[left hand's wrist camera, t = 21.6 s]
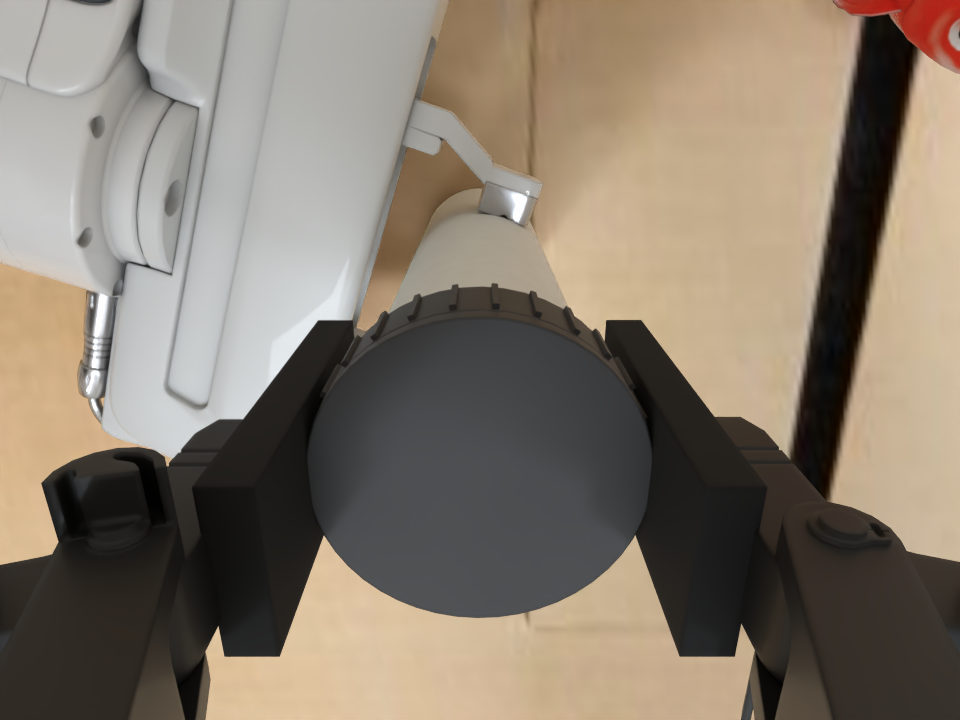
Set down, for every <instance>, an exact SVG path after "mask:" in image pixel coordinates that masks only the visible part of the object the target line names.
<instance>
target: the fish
mask: <svg viewBox="0 0 960 720" xmlns="http://www.w3.org/2000/svg"><path fill="white" fill-rule="evenodd" d="M833 2H834V3H835V4H836V5H837V7H838V8H841V9H844V10H845V11H847V12H848V13H849V14H851V15H853V16H869V17H871V16H878V15H885V14H889V15H890V17H891V19H892V20H893V21H894V22H895V24H896V25H897V26H898V28H899V29H900V30H901V31H902V32H903V33H904V35H905V36H906V38H907V39H908V40H909V41H910V42H911V43H913V44H914V45H915V46H916V47H918V48H919V49H920V50H921V51H923V52H924V53H925V54H926V55H927V56H928V57H930V58H931V59H933V60H934V61H935V62H937V63H938V64H940V65H941V66H943V67H945V68H947V69H949V70H951V71H953V72H955V73H958V74H960V0H833Z"/></svg>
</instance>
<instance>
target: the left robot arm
mask: <svg viewBox="0 0 960 720" xmlns="http://www.w3.org/2000/svg"><path fill="white" fill-rule="evenodd" d="M353 340H354V327H353V320H318V321H317V322H316V324H315V325H314V326H313V328H312V329H311V330H310V332H309V333H308V334H307V336H306V337H305V338H304V340H303V341H302V342H301V344H300V345H299V346H298V348H297V349H296V350H295V351H294V353H293V354H292V355H291V357H290V358H289V359H288V361H287V362H286V363H285V365H284V366H283V367H282V369H281V370H280V371H279V373H278V374H277V375H276V377H275V378H274V379H273V380H272V382H271V383H270V384H269V386H268V387H267V388H266V390H265V391H264V392H263V394H262V395H261V396H260V398H259V399H258V400H257V402H256V403H255V404H254V406H253V407H252V408H251V410H250V411H249V412H248V413H247V415H246V416H245V417H244V419H219V420H217V421H215V422H213V423H212V424H210V425H208V426H207V427H205V428H203V429H201V430H200V431H198V432H196V433H195V434H194V435H193V436H192V437H191V438H190V440H189V441H188V442H187V443H186V444H185V445H184V447H183V448H182V449H181V453H177V455H176V456H175V457H174V458H173V459H172V460H171V461H170V463H169V467H167V466H166V461H165V457H164V456H162V455H161V454H160V453H158V452H157V451H155V450H151V449H146V448H140V447H132V448H116V449H111V450H106V451H101V452H96V453H93V454H90V455H87V456H84V457H81V458H79V459H76V460H73V461H71V462H69V463H67V464H66V465H64V466H62V467H60V468H58V469H57V470H55V471H53V472H52V473H51V474H50V475H49V476H48V477H47V478H46V479H45V480H44V481H43V482H42V483H41V484H42V487H43V491H44V494H45V497H46V501H47V504H48V507H49V511H50V514H51V518H52V521H53V524H54V528H55V531H56V534H57V538H58V541H59V543H58V544H57V546H56V548H55V550H54V552H53V554H52V555H48V556H44V557H39V558H34V559H29V560H24V561H19V562H13V563H8V564H3V565H0V720H205V718H206V711H207V703H208V695H209V687H210V673H209V667H208V662H207V657H206V652H205V651H206V649H207V647H208V645H209V643H210V641H211V639H212V637H213V635H214V633H215V631H216V629H217V627H218V625H219V630H220V635H221V640H222V646H223V651H224V656H225V657H280V654H281V651H282V649H283V646H284V643H285V640H286V638H287V635H288V632H289V629H290V627H291V624H292V621H293V618H294V616H295V613H296V610H297V607H298V605H299V602H300V599H301V596H302V594H303V591H304V588H305V585H306V583H307V580H308V577H309V574H310V572H311V569H312V566H313V563H314V561H315V558H316V555H317V552H318V550H319V547H320V544H321V541H322V539H323V536H324V534H323V532H322V530H321V528H320V526H319V524H318V522H317V520H316V518H315V515H314V512H313V506H312V498H311V489H310V481H309V472H308V463H307V443H308V438H309V435H310V431H311V428H312V424H313V421H314V418H315V416H316V414H317V412H318V410H319V408H320V405H321V403H322V401H323V399H324V398H322V397H320V394H321V392H322V390H323V389H324V387H325V385H326V383H327V381H328V380H329V378H330V376H331V374H332V372H333V371H334V369H335V367H336V365H337V364H339V365H341V362H342V360H343V358H344V356H345V354H346V353H347V351H348V349H349V347H350V345H351V343H352V342H353ZM605 344H606V345H607V347H608V349H609V351H610V353H611V355H612V357H613V358H616V357H619V359H620V361H621V363H622V364H623V366H624V368H625V370H626V372H627V373H628V375H629V377H630V379H631V381H632V382H633V384H634V386H635V389H633V391H634V393H635V395H636V397H637V399H638V401H639V402H640V404H641V406H642V408H643V410H644V412H645V413H646V415H647V417H648V423H647V426H648V429H649V433H650V437H651V441H652V447H653V455H652V466H651V475H650V483H649V492H648V501H647V508H646V513H645V515H644V518H643V521H642V523H641V525H640V527H639V529H638V530H637V532H636V534H635V535H636V538H637V540H638V543H639V546H640V549H641V551H642V554H643V557H644V560H645V562H646V565H647V568H648V571H649V573H650V576H651V579H652V582H653V584H654V587H655V590H656V593H657V595H658V598H659V601H660V604H661V606H662V609H663V612H664V615H665V617H666V620H667V623H668V626H669V628H670V631H671V634H672V637H673V639H674V642H675V645H676V648H677V650H678V653H679V656H680V657H735V652H736V647H737V642H738V637H739V632H740V627H741V623H742V625H743V627H744V629H745V631H746V633H747V635H748V637H749V639H750V641H751V643H752V645H753V647H754V649H755V652H754V657H753V662H752V667H751V671H750V676H749V681H748V686H747V690H746V695H745V700H744V705H743V710H742V717H741V720H751V715H752V711H753V709H754V717H755V720H960V562H956V561H951V560H946V559H941V558H936V557H931V556H925V555H920V554H916V553H912V552H908V551H906V549H905V547H904V545H903V543H902V541H901V540H900V539H899V538H898V537H897V535H896V534H895V533H894V532H893V531H892V529H891V528H889V527H888V526H886V525H885V524H883V523H882V522H880V521H879V520H877V519H876V518H874V517H873V516H871V515H868V514H866V513H864V512H861V511H859V510H856V509H854V508H852V507H848V506H844V505H839V504H835V503H831V502H827V501H826V500H825V499H824V498H823V497H822V496H821V495H820V493H819V492H818V491H817V490H816V489H815V488H814V487H813V485H812V484H811V483H810V482H809V481H808V480H807V479H806V478H805V476H804V475H803V474H802V473H801V472H800V471H799V470H798V468H797V467H796V466H795V465H794V464H791V460H790V459H789V458H788V457H787V456H786V455H785V454H784V453H783V451H782V450H779V447H778V446H777V445H776V443H775V442H774V441H773V440H772V439H771V438H770V437H769V435H768V434H767V433H766V432H765V431H764V430H762V429H760V428H759V427H757V426H755V425H753V424H752V423H750V422H748V421H747V420H745V419H743V418H741V417H714V416H713V414H712V413H711V412H710V410H709V409H708V408H707V406H706V405H705V404H704V403H703V401H702V400H701V399H700V397H699V396H698V395H697V393H696V392H695V391H694V389H693V388H692V387H691V385H690V384H689V383H688V381H687V380H686V379H685V377H684V376H683V375H682V373H681V372H680V371H679V370H678V368H677V367H676V366H675V364H674V363H673V362H672V360H671V359H670V358H669V356H668V355H667V354H666V352H665V351H664V350H663V348H662V347H661V346H660V344H659V343H658V342H657V340H656V339H655V338H654V337H653V335H652V334H651V333H650V331H649V330H648V329H647V327H646V326H645V325H644V323H643V322H642V321H641V320H606V332H605ZM341 366H342V365H341Z"/></svg>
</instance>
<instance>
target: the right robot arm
mask: <svg viewBox="0 0 960 720" xmlns="http://www.w3.org/2000/svg"><path fill="white" fill-rule="evenodd" d="M448 3H449V0H0V263H1V264H4V265H7V266H11V267H14V268H17V269H21V270H24V271H27V272H30V273H34V274H37V275H40V276H44V277H47V278H51V279H54V280H57V281H60V282H64V283H67V284H70V285H73V286H76V287H80V288H83V289H86V290H87V296H86V306H85V314H84V352H83V359H82V360H81V361H80V364H79V368H78V375H77V382H78V390H79V393H80V395H82V396H83V397H85V398H88V401H89V405H90V408H91V410H92V412H93V414H94V416H95V417H96V419H97V420H98V421H99V422H100V423H101V426H102V429H103V430H104V431H105V432H106V433H108V434H109V435H111V436H113V437H115V438H118V439H120V440H123V441H127V442H131V443H134V444H138V445H141V446H145V447H148V448H151V449H153V450H155V451H157V452H159V453H161V454H163V455H165V456H168V457H170V458H172V459H173V458H174V457H175V456H176V455H177V453H181V449H182V448H183V447H184V445H185V444H186V443H187V442H188V441H189V440H190V438H191V437H192V436H193V435H194V434H195V433H196V432H198V431H200V430H201V429H203V428H205V427H207V426H208V425H210V424H212V423H213V422H215V421H217V420H219V419H244V417H245V416H246V415H247V413H248V412H249V411H250V410H251V408H252V407H253V406H254V404H255V403H256V402H257V400H258V399H259V398H260V396H261V395H262V394H263V392H264V391H265V390H266V388H267V387H268V386H269V384H270V383H271V382H272V380H273V379H274V378H275V377H276V375H277V374H278V373H279V371H280V370H281V369H282V367H283V366H284V365H285V363H286V362H287V361H288V359H289V358H290V357H291V355H292V354H293V353H294V351H295V350H296V349H297V348H298V346H299V345H300V344H301V342H302V341H303V340H304V338H305V337H306V336H307V334H308V333H309V332H310V330H311V329H312V328H313V326H314V325H315V324H316V322H317V321H318V320H353V327H354V338H355V337H356V336H357V335H359V336H360V337H362V336H363V335H364V334H365V333H366V331H363V330H360V329H357V324H358V321H359V317H360V314H361V310H362V307H363V303H364V300H365V296H366V293H367V289H368V285H369V282H370V278H371V275H372V271H373V268H374V264H375V261H376V257H377V254H378V250H379V247H380V243H381V240H382V236H383V233H384V229H385V225H386V222H387V218H388V215H389V211H390V208H391V204H392V201H393V197H394V194H395V190H396V187H397V183H398V180H399V176H400V172H401V169H402V165H403V162H404V158H405V155H406V151H407V148H408V147H410V148H413V149H415V150H418V151H421V152H424V153H427V154H430V155H433V156H434V155H435V154H437V153H438V152H439V151H440V150H441V149H442V146H443V143H444V140H445V141H446V142H447V143H448V144H449V145H450V146H451V147H452V149H453V150H454V151H455V152H456V153H457V154H458V155H459V157H460V158H461V159H462V160H463V161H464V162H465V164H466V165H467V166H468V167H469V168H470V169H471V170H472V172H473V173H474V174H475V175H476V176H477V177H478V179H479V180H480V181H481V182H482V183H483V184H484V185H483V189H482V192H481V195H480V198H479V201H478V210H479V211H482V212H485V213H488V214H490V215H495V216H501V215H506V216H507V218H508V219H509V220H510V221H512V222H514V223H516V224H520V225H523V226H528V223H529V221H530V218H531V216H532V213H533V211H534V208H535V205H536V203H537V200H538V197H539V194H540V192H541V189H542V186H543V183H542V181H541V180H539V179H537V178H534V177H532V176H530V175H527V174H524V173H521V172H519V171H516V170H513V169H510V168H507V167H505V166H502V165H499V164H496V163H493V160H492V157H491V156H490V155H489V154H488V153H487V151H486V150H485V149H484V148H483V147H482V145H481V144H480V143H479V142H478V141H477V139H476V138H475V137H474V136H473V135H472V133H471V132H470V131H469V130H468V129H467V127H466V126H465V125H464V124H463V123H462V122H461V120H460V119H459V118H458V117H457V116H456V114H455V113H454V112H452V111H449V110H447V109H444V108H441V107H438V106H436V105H433V104H430V103H427V102H425V101H422V100H421V98H422V95H423V91H424V88H425V84H426V81H427V77H428V74H429V70H430V67H431V63H432V59H433V56H434V52H435V49H436V45H437V42H438V38H439V35H440V31H441V28H442V24H443V21H444V17H445V14H446V10H447V6H448ZM104 397H105V399H104V406H103V405H102V402H101V398H104Z"/></svg>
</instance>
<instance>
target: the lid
mask: <svg viewBox="0 0 960 720" xmlns="http://www.w3.org/2000/svg"><path fill="white" fill-rule="evenodd" d="M341 365H342V366H341ZM341 365H339V364H337V365H336V367H335V369H334V371H333V372H332V374H331V376H330V378H329V380H328V381H327V383H326V385H325V387H324V389H323V390H322V392H321V394H320V397H322V398H324V399H323V401H322V403H321V405H320V408H319V410H318V412H317V414H316V416H315V418H314V421H313V424H312V428H311V431H310V435H309V438H308V443H307V463H308V472H309V481H310V489H311V498H312V506H313V512H314V515H315V518H316V520H317V522H318V524H319V526H320V528H321V530H322V532H323V534H324V536H325V537H326V539H327V540H328V542H329V543H330V545H331V546H332V547H333V549H334V550H335V552H336V553H337V554H338V555H339V556H340V557H341V559H342V560H343V561H344V562H345V563H346V564H347V565H348V566H349V567H350V568H351V569H352V570H353V571H354V572H355V573H357V574H358V575H359V576H360V577H361V578H362V579H363V580H365V581H366V582H368V583H369V584H371V585H372V586H374V587H375V588H377V589H378V590H380V591H381V592H383V593H385V594H387V595H389V596H391V597H393V598H395V599H396V600H399V601H401V602H404V603H406V604H409V605H411V606H414V607H416V608H420V609H423V610H427V611H431V612H434V613H439V614H445V615H451V616H457V617H472V618H486V617H502V616H509V615H516V614H521V613H525V612H529V611H533V610H537V609H540V608H543V607H545V606H548V605H551V604H554V603H556V602H559V601H561V600H563V599H565V598H567V597H569V596H571V595H573V594H575V593H576V592H578V591H579V590H581V589H583V588H584V587H586V586H587V585H589V584H590V583H592V582H593V581H594V580H596V579H597V578H598V577H599V576H600V575H602V574H603V573H604V572H605V571H606V570H608V569H609V568H610V566H611V565H612V564H613V563H614V562H615V561H616V560H617V559H618V558H619V557H620V556H621V555H622V553H623V552H624V551H625V549H626V548H627V547H628V545H629V544H630V542H631V541H632V540H633V538H634V536H635V534H636V532H637V530H638V529H639V527H640V525H641V523H642V521H643V518H644V515H645V513H646V508H647V501H648V492H649V483H650V475H651V466H652V455H653V447H652V441H651V437H650V433H649V429H648V426H647V423H648V417H647V415H646V413H645V412H644V410H643V408H642V406H641V404H640V402H639V401H638V399H637V397H636V395H635V393H634V391H633V389H635V386H634V384H633V382H632V381H631V379H630V377H629V375H628V373H627V372H626V370H625V368H624V366H623V364H622V363H621V361H620V359H619V357H616V358H613V357H612V355H611V353H610V351H609V349H608V347H607V345H606V344H605V342H604V340H603V338H602V336H601V334H600V332H599V331H598V330H597V329H594V330H593V331H591V330H590V329H589V328H588V327H587V326H586V325H585V324H584V323H583V322H582V321H580V320H579V319H577V318H576V317H575V316H574V315H573V312H572V310H571V308H569V307H567V306H566V307H565V308H564V309H563V308H561V307H559V306H557V305H555V304H553V303H551V302H549V301H547V300H545V299H542V298H539V297H538V296H537V293H536V292H534V291H530V293H529V294H528V293H525V292H520V291H515V290H510V289H505V288H498V284H497V283H492V284H491V287H483V286H482V287H461V288H459V286H458V284H455V285H452V288H451V289H450V290H444V291H439V292H436V293H432V294H429V295H426V296H423V297H421V295H420V293H419V294H417V295H414V298H413V301H411V302H409V303H407V304H404V305H402V306H400V307H399V308H397V309H395V310H394V311H392V312H391V313H389V314H388V313H387V312H386V311H384V312H383V313H381V315H380V317H379V319H378V321H377V323H376V324H375V325H373V326H372V327H371V328H370V329H369V330H368V331H367V332H366V333H365V334H364V335H363V336H362V337H360V336H359V335H357V336H356V337H355V338H354V340H353V342H352V343H351V345H350V347H349V349H348V351H347V353H346V354H345V356H344V358H343V360H342V362H341Z"/></svg>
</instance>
